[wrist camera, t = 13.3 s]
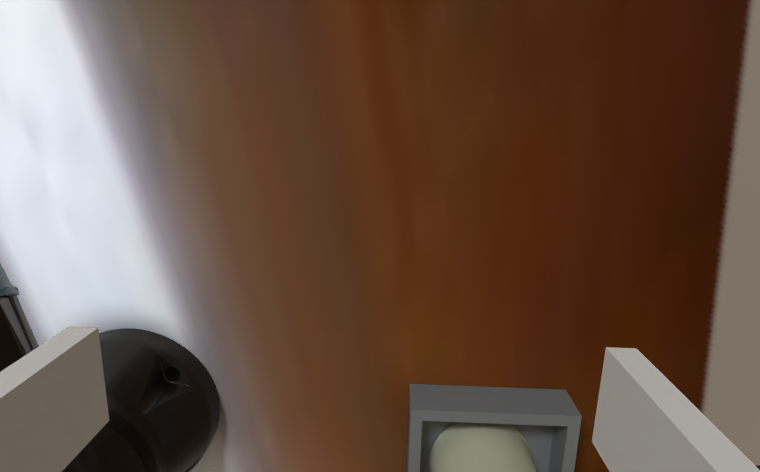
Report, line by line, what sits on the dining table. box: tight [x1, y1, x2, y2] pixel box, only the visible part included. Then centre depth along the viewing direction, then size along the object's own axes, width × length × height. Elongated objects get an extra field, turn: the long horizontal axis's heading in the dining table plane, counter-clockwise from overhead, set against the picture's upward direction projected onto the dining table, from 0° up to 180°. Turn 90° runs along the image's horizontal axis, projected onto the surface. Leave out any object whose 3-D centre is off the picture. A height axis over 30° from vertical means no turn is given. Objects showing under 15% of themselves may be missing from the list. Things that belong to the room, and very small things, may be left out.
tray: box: [406, 384, 582, 472], centre depth 44 cm, size 14×14×4 cm
